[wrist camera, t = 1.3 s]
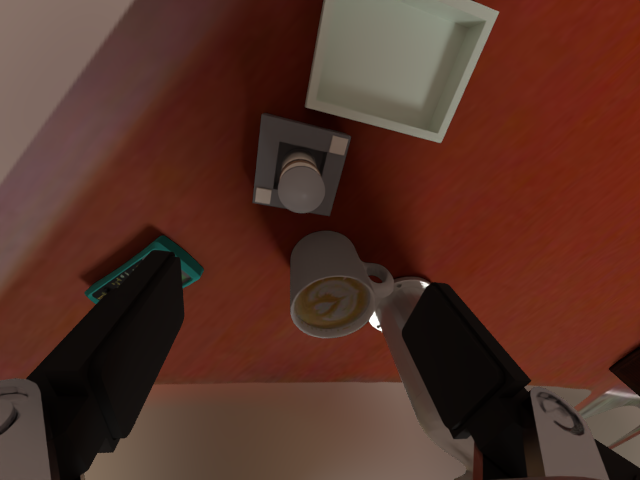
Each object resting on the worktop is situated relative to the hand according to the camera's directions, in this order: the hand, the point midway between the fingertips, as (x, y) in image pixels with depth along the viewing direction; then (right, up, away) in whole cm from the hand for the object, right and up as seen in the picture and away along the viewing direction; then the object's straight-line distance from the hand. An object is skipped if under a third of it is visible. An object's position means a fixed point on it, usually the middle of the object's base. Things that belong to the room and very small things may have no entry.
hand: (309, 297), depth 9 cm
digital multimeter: (-24, -3, +26) cm, 35 cm away
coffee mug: (+3, -1, +27) cm, 27 cm away
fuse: (-2, +11, +19) cm, 22 cm away
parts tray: (+7, +20, +15) cm, 26 cm away
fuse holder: (-2, +11, +19) cm, 23 cm away
